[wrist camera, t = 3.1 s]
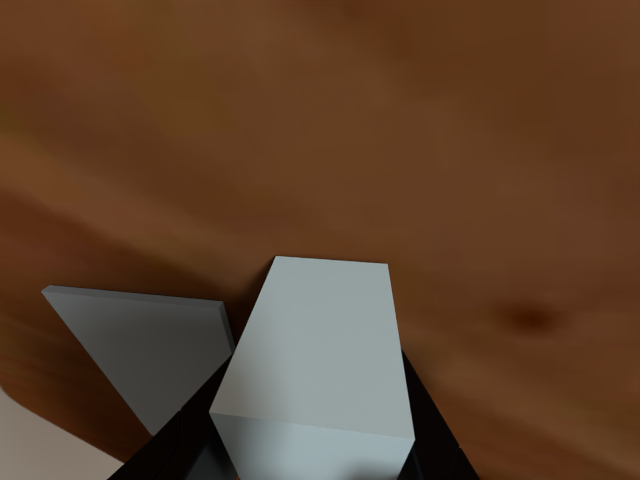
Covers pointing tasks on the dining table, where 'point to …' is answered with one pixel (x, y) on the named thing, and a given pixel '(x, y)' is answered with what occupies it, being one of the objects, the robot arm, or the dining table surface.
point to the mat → (148, 344)
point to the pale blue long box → (318, 378)
